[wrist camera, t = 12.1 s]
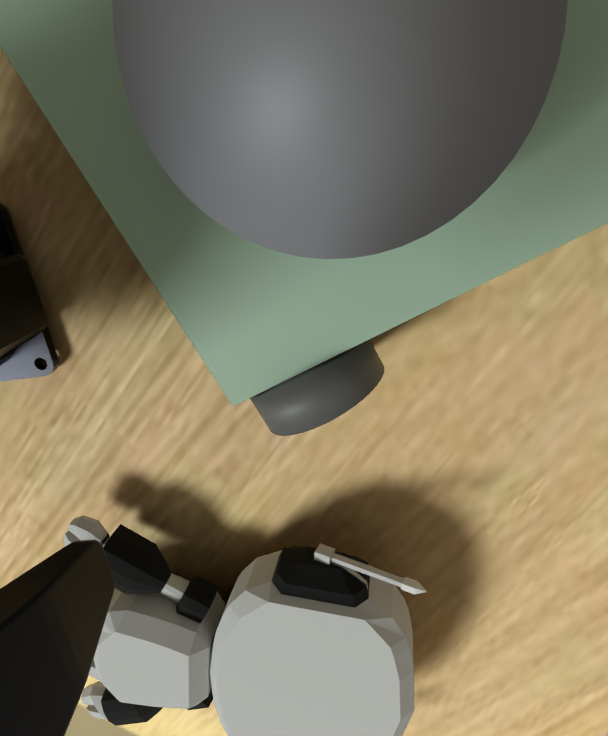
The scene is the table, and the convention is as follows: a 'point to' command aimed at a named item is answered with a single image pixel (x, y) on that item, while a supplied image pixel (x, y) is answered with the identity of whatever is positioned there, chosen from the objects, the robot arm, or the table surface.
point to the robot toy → (254, 642)
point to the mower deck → (299, 290)
